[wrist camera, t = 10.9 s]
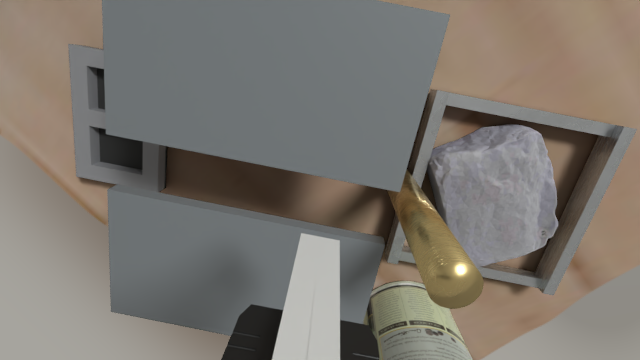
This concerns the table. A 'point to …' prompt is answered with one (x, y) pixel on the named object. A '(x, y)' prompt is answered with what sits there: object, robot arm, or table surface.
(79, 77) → the pit board
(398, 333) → the coffee can
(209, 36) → the gray split-top stand
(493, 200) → the stone block
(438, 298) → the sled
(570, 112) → the table surface
